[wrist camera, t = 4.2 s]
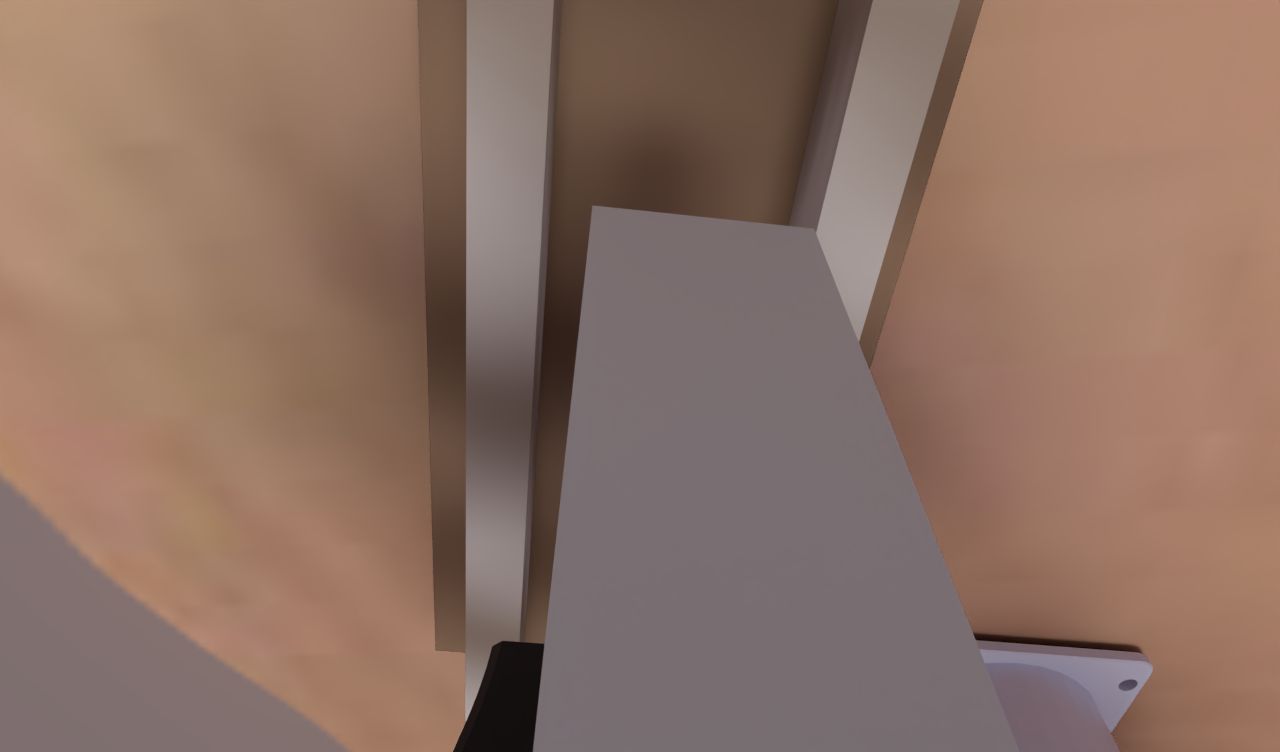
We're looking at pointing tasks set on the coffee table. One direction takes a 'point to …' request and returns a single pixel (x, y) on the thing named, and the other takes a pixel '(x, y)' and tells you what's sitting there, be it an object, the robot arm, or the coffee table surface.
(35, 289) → the coffee table surface
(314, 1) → the coffee table surface
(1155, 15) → the coffee table surface
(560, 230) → the track base
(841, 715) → the door panel
